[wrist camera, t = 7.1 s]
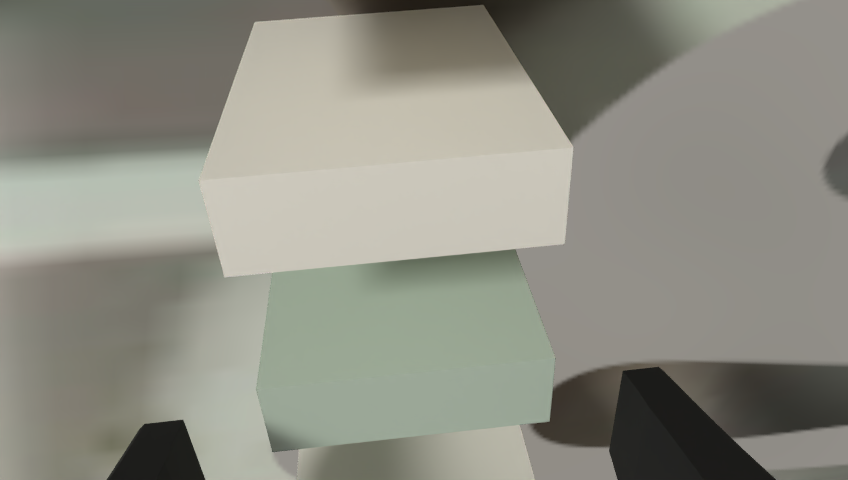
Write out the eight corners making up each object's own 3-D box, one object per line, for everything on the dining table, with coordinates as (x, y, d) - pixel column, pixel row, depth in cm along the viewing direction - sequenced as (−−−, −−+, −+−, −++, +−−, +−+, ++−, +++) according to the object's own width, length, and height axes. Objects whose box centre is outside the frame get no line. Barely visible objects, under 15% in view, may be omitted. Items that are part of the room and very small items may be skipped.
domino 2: (482, 216, 18) (549, 422, 12) (294, 233, 18) (272, 452, 12) (483, 163, 17) (555, 358, 11) (285, 180, 17) (256, 389, 11)
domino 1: (483, 74, 16) (565, 244, 10) (267, 92, 15) (224, 276, 10) (483, 4, 15) (573, 146, 9) (254, 22, 15) (198, 180, 9)
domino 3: (481, 329, 20) (537, 547, 15) (315, 346, 20) (305, 576, 14) (481, 288, 19) (541, 502, 14) (307, 305, 19) (293, 532, 13)
